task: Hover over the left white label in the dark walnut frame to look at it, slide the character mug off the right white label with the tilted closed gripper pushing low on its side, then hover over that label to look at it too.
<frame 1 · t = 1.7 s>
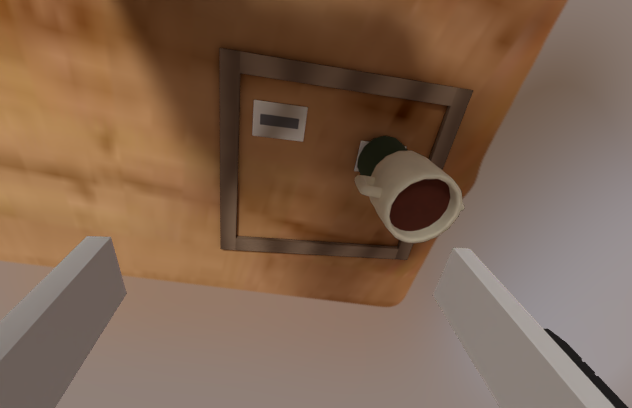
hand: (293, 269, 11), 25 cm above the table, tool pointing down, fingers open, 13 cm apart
character mug: (379, 158, 36), resting in label frame
label frame: (333, 175, 37), on the table
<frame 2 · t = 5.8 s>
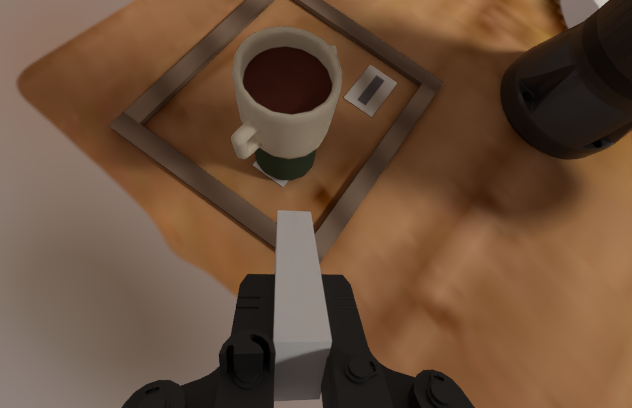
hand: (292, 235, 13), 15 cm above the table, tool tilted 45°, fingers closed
character mug: (285, 155, 31), resting in label frame
label frame: (292, 104, 32), on the table
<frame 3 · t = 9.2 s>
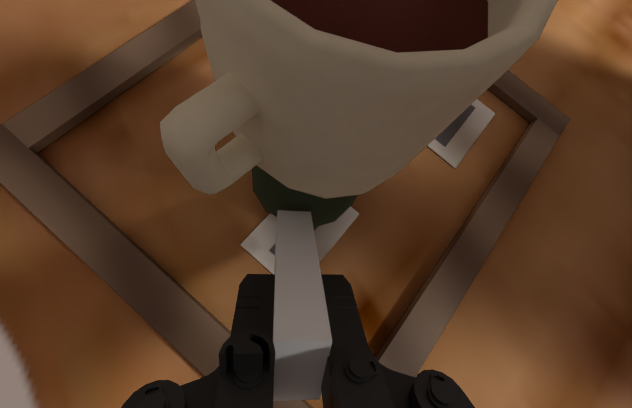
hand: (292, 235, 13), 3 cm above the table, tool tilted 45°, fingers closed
character mug: (304, 180, 18), resting in label frame, touching gripper
label frame: (323, 135, 18), on the table
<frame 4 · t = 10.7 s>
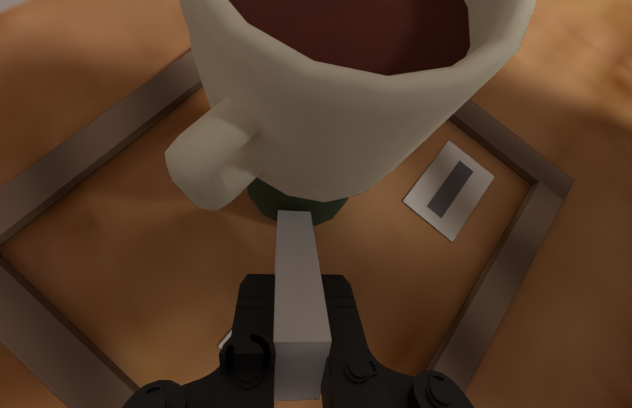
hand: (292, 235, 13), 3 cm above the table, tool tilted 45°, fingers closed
character mug: (298, 181, 18), resting in label frame, touching gripper
label frame: (309, 211, 17), on the table
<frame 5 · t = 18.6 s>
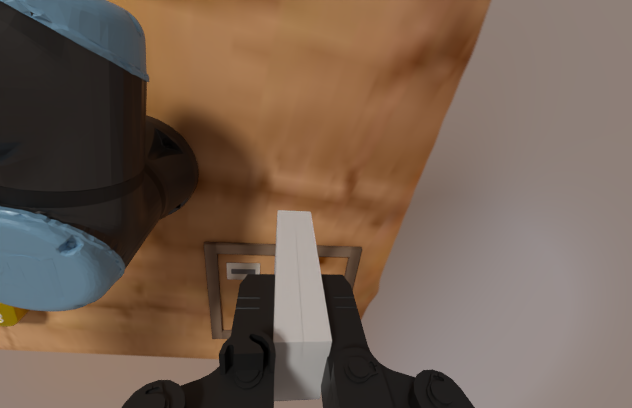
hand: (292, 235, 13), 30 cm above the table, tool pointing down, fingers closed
label frame: (282, 294, 57), on the table
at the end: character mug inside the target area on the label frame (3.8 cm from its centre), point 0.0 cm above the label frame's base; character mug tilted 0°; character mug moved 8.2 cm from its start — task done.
